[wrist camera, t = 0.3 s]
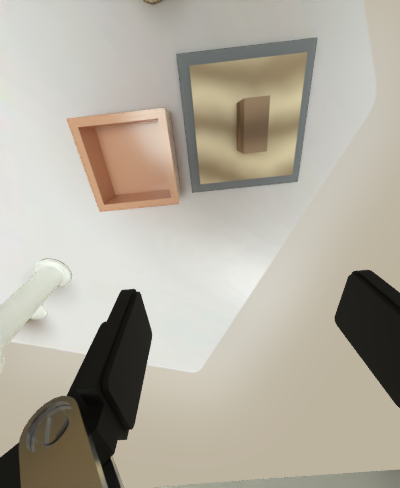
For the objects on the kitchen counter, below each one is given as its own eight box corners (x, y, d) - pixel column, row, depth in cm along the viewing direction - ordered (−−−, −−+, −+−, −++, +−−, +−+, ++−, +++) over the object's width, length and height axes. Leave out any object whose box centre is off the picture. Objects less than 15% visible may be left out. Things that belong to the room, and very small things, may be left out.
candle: (62, 290, 46) (-58, 437, 24) (30, 272, 43) (-137, 420, 21) (78, 271, 43) (-39, 416, 21) (45, 252, 41) (-125, 393, 19)
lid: (189, 67, 27) (188, 53, 22) (303, 54, 27) (330, 36, 21) (200, 182, 34) (201, 192, 29) (289, 173, 34) (307, 181, 29)
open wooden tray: (88, 120, 30) (66, 118, 25) (169, 111, 30) (164, 107, 25) (113, 199, 36) (99, 211, 31) (181, 192, 36) (179, 203, 30)
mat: (176, 55, 27) (176, 54, 26) (314, 39, 26) (317, 37, 26) (192, 191, 36) (192, 192, 35) (296, 180, 35) (297, 181, 35)
